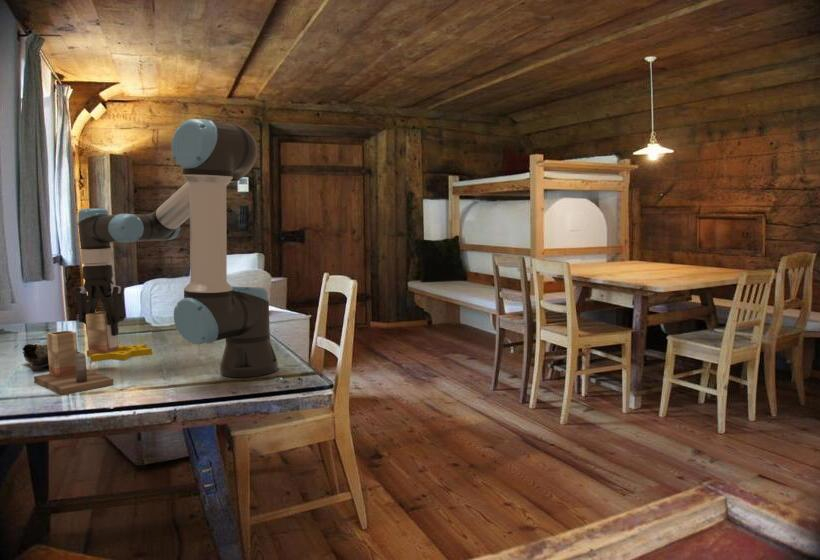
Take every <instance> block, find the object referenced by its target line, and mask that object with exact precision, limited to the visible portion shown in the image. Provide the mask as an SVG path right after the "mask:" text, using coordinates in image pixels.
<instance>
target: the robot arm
mask: <svg viewBox="0 0 820 560" xmlns="http://www.w3.org/2000/svg"><path fill="white" fill-rule="evenodd" d="M179 125H180V126H179V127H177V129H176V130H175V132H174V134H173V137H172V141H171V154H172V157H173V158H174V159H175V162H176V164H177V165H178V166H180V167H181V168H182V177H183V178H184V179H185V180H186V182H185V183H184V184H182V186H180V187H179V188H178V189H177V190H176V191H175V192H174V193H173V194H171V196H170V197H168V199H167V200H165V201H164V202H163V203H162V204H161V205H160V206H159V207H157V209H154V211H153V212H151V213H148V214H145V213H144V214H136V213H135V214H134V213H133V214H131V213H119V214H109V211H108V209H106V208H82V209H80V210H79V211H78V213H77V216H78V218H77V219H78V222H77V225H78V234H79V235H78V236H79V245H80V259H81V264H82V265H83V266H82V267H81V270H82V279H83V280H84V284H83V285H82V286H77V287H75V289H74V290H75V291H74V292H75V293H76V296H77V312H78V314H77V315H78V316H77V317H78V322H79V323H82V324H84V325H85V330H86V331H85V332H86V334H87V325H86V314H90V313H95V312H97V306H98V301H99V300H100V302H101V303H102V305H103V308H104V312H106V314H107V317H108V320H109V323H107V324H108V325H107V333H108V346H109V348H113V347H117V335H118V336H119V323H121V322H124V320H125V314H124V313H125V312H124V304H123V294H122V293H123V289H124V288H123V286H122V285H115V284H114V282H113V280H112V278H113V276H114V273H113V265H112V264H110V263H112V261H113V260H112V250H111V249H112V248H111V247H112V246H111V245H112V244H111V243H123V244H125V243H126V244H127V243H135V242H139V243H140V242H156V241H157V242H159V241H160V242H166V241H169V240H174V239H175V238H177V237H178V236H179V232H180V231H181V225H182V224H183V223H185V222H186V221H187V220H188V219H189V263H190V264H189V265H190V267H189V273H190V275H189V276H190V277H189V278H190V279H189V280H190V281H189V283H188V284H187V285H185V286H184V288H183V298H182V299H180V300H179V301H177V303H176V305H175V306H174V309H173V321H174V325H175V328H176V329H177V332H178V333H179V334H180V335H181V337H182V338H183V339H184V340H185V341H187V342H188V343H191V344H194V345H203V344H213V343H214V342H217V341H221V340H224V339H225V346H224V348H223V349H224V350H223V353H222V358H221V361H220V365H219V372H220V375H221V376H224V377H229V378H250V377H260V376H265V375H269V374H272V373H275V372H276V371H277V370H278V369H279V365H278V364H279V362H278V359H277V357H276V354H275V351H274V348H273V346H272V343H271V332H270V331H271V330H270V326H271V325H270V300H269V293H268V290H267V289H266V288H264V287H258V286H257V287H254V286H253V287H251V286H234V285H233V286H232V285H231V284H229V282H228V281H227V280H228V278H227V277H228V276H227V274H228V273H227V272H228V271H227V269H228V268H227V267H228V266H227V262H228V261H227V249H228V248H227V245H228V244H227V235H228V234H227V229H228V227H227V186H229V184H231V183H237V182H239V181H240V180H241V179H242V178H243V177H245V176H246V175H247V174H248V173H249V172H250V171H251V170H252V169H253V166H254V165H255V164H256V161H257V158H258V143H257V142H256V140H255V137H254V136H253V135H252V134H251V132H250V131H249V130H248V129H246V128H245V127H244V126H241V125H238V124H234V123H233V124H230V123H226V122H220V121H218V120H217V121H216V120H212V119H209V118H208V119H205V118H202V119H201V118H191V119H187V120H185V121H183V122H182V123H181V124H179Z"/></svg>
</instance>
